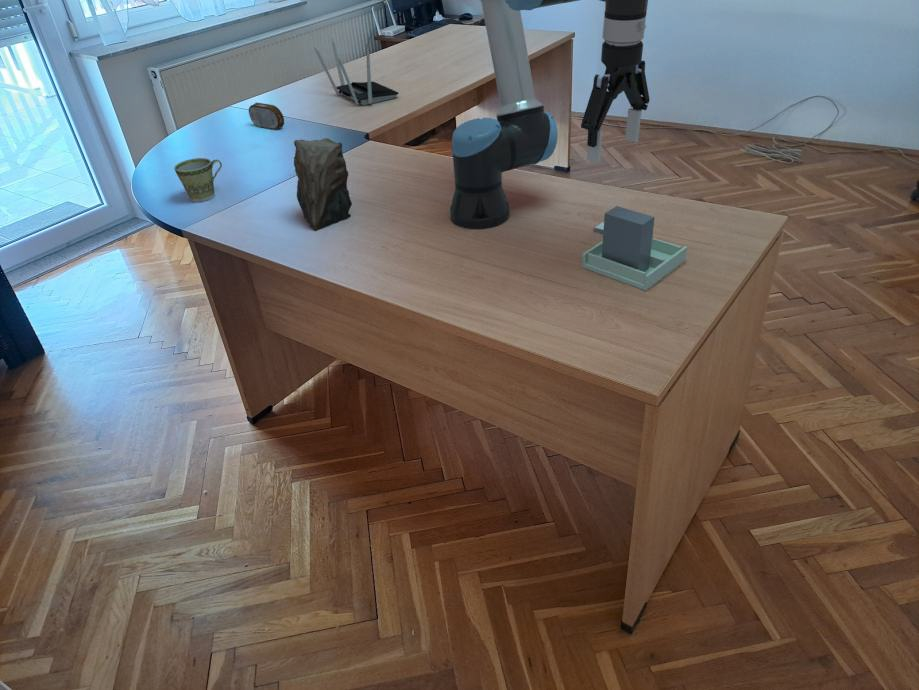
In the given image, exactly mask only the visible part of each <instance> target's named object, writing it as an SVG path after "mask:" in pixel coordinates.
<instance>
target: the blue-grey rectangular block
mask: <svg viewBox="0 0 919 690" xmlns="http://www.w3.org/2000/svg"><path fill="white" fill-rule="evenodd" d="M603 218H604V219H603V222H604V231H603V234H602V241H603V247H602V257H603V258H606V259H608V260H611V261H614V262H617V263H620V264H623V265H626V266H629V267H632V268H634V269H637V270H640V271H643V272H645V271H646V270H648V269H649V263H650V254H651V245H652V238H653V235H654V225H655V216H652V215H649V214H646V213H642V212H638V211H636V210H632V209H629V208H625V207H623V206H622V207H621V206H620V205H619V206H618V205H616V206H614V207H613V208H611V209H610V210H608V211H606V212H604V217H603Z"/></svg>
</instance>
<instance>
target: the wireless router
mask: <svg viewBox="0 0 919 690" xmlns="http://www.w3.org/2000/svg"><path fill="white" fill-rule="evenodd" d="M330 41H331V46H332V50H333V55H334V59H335V64H336V69H337V73H338V77H339V82H340V85H339V86H337V85H336V83H335V82H334V80H333V78H332V76H331V73H330V72H329V69H328V68H327V65H326V63H325V61H324V60H323V57H322V56H321V55H322V54H321V53H320V51H319V50H318V49H317V48H316V47H313V49H314V51H315V53H316V55H317V57H318V59H319V61H320V63H321V65H322V68H323V69H324V71H325V73H326V75H327V78H328V80H329V81H330V83H331V85H332V87H333V89H334V92H335V93H336V95H340V94H341V95H342V96H344V97H345V98H348V99H349V100H351V101H354V104H355V105H357V106H358V105H361V106H366V105H370V104H371V105H372V104H375V103H379V102H384V101H388V100H392V99H395V98H397V96H398V95H399V92H398V91H396V90H393V89H392V88H390V87H388V86H385V85H382V84H381V83H378V82H375V81H372V75H371V74H372V73H371V60H370V59H371V56H370V55H371V54H370V52H367V53H366V77H367V78H366V81H362V82H360V81H359V82H358V81H357V82H356V81H352V82H351V81H350V78H349V76H348V73H347V70H346V68H345V66H344V64H343V61H342V60H341V59H340V58H339V56H338V51H337V47H336V44H335V41H334V39H333V38H330ZM344 79H345V80H346V82H347V84H345V81H344Z"/></svg>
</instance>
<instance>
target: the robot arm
mask: <svg viewBox="0 0 919 690" xmlns="http://www.w3.org/2000/svg"><path fill="white" fill-rule="evenodd" d="M479 1H480V2H481V7H482V12H483V14H482V15H483V19H484V23H485V29H486V33H487V34H486V35H487V39H488V45H489V52H490V54H491V56H490V57H491V61H492V66H493V67H492V68H493V71H494V77H495V82H496V88H497V92H498V98H499V103H500V108H499V109H498V111H497V113H496V118H493V117H483V118H480V117H478V118H473V119H471V120H468V121H467V120H466V121H464V122H463V123H461V124H460V125H458V126H457V127H456V128H455V129H454V131H453V133H452V138H451V153H452V160H453V161H452V162H453V175H454V187H455V188H454V192H453V193H454V194H453V197H452V202H451V205H450V209H449V214H450V215H449V216H450V221H451V222H453V224H455V225H457V226H459V227H462V228H466V229H475V230H476V229H479V230H480V229H487V228H492V227H496V226H499V225H501V224H503V223H505V222H506V221H507V220H508V219H509V218H510V215H511V214H510V204H509V202H508V200H507V197H506V194H505V191H504V188H503V181H502V180H503V179H502V177H503V176H502V173H504V172H509V171H512V170H515V169H519V168H523V167H526V166H530V165H537V164H539V163H540V162H543V161H546V160H548V159H550V158H551V157H552V155H553V154H554V152H555V150H556V147H557V144H558V135H559V134H558V126H557V122H556V120H555V119H554V117H553V115H552V114H551V113H550V112H549V111H545V109H544V104H543V103H542V102H540V100H537V98H536V94H535V87H534V83H533V77H532V76H533V75H532V72H531V71H532V70H531V66H530V59H529V58H530V57H529V52H528V48H527V41H526V36H525V30H524V25H523V24H524V23H523V19H522V13H521V11H532V10H535V9H539V8H544V7H549V6H555V5H561V4H567V3H572V2H573V3H574V2H578V1H580V0H479ZM599 1H600V2H605V3H604V4H605V6H604V8H605V9H604V15H603V17H604V18H603V29H602V39H603V40H604V41H603V42H602V45H601V56H600V61H601V63H602V64H603V65H604V67H605V71H604V74H595V75H594V77H593V86H592V89H591V92H590V95H589V99H588V102H587V105H586V108H585V112H584V114H583V116H582V117H583V118H582V120H581V123H580V128H581V129H582V130H583V129H584V130H587V142H586V143H587V144H586V145H587V148H586V149H587V150H586V160H587V161H589V162H592V163H596V164H599V163H600V162H601V155H602V154H601V153H602V145H603V144H602V143H603V141H602V140H603V133H604V132H603V131H604V130H603V129H602V128H601V127H602V125H603V123H604V121H605V119H606V117H607V115H608V112H609V110H610V108H611V106H612V103H613V101H614V100H617V98H618V96H619V95H620V94H622V92H624V94H625V96H626V99H627V100H628V103H629V105H630V108H628V109H627V119H626V126H625V127H626V129H625V136H624V140H625V141H628V142H632V143H635V144H637V143H638V142H639V136H640V127H641V117H642V110H643V111H647V109H648V104H649V103H650V101H651V100H650V96H649V95H650V94H649V88H648V83H647V82H648V81H647V77H646V61H645V60H643V52H644V51H643V49H644V42H643V41H642V40H643V39H644V38H645V29H646V27H647V25H646V21H647V20H646V18H647V10H648V4H649V0H599Z"/></svg>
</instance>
